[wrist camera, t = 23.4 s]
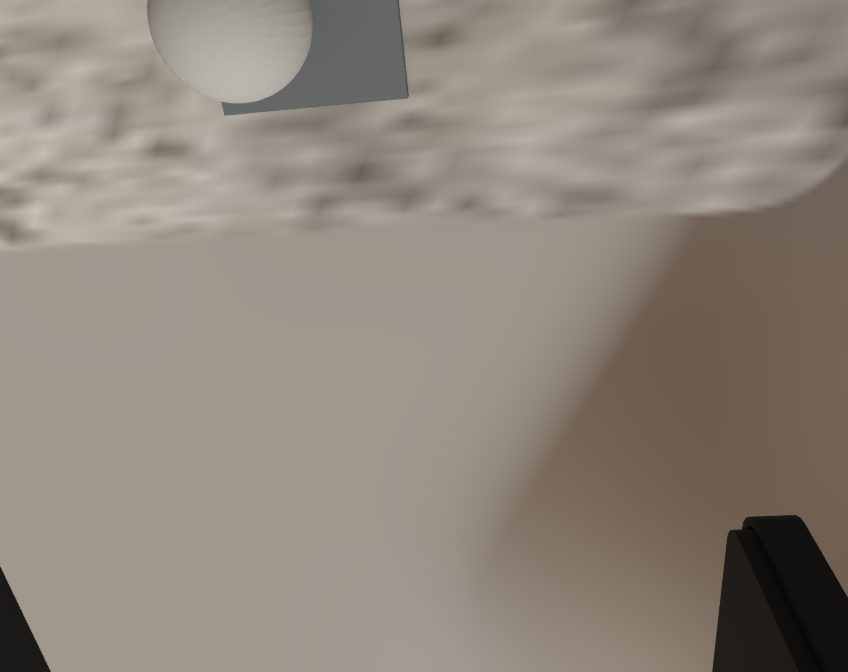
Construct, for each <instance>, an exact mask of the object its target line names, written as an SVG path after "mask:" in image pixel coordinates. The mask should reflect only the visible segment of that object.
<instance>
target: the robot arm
mask: <svg viewBox="0 0 848 672" xmlns="http://www.w3.org/2000/svg"><path fill="white" fill-rule="evenodd" d="M723 572H724V573H723V581H722V590H721V599H720V607H719V617H718V626H717V634H716V644H715V653H714V662H713V670H712V672H848V597H847V595H846V594H845V592H844V590H843V589H842V587H841V585H840V583H839V582H838V580H837V578H836V576H835V575H834V573H833V571H832V570H831V568H830V566H829V564H828V563H827V561H826V559H825V558H824V556H823V554H822V552H821V551H820V549H819V547H818V545H817V544H816V542H815V540H814V539H813V537H812V535H811V533H810V532H809V530H808V528H807V527H806V525H805V523H804V522H803V521H802V519H801V518H800V517H798V516H796V515H785V516H761V517H760V516H759V517H747V518H746V519H745V520H744V522H743V526H742V530H730V531H729V533H728V537H727V545H726V553H725V563H724V571H723ZM0 672H51V671H50V669H49V667H48V665H47V663H46V661H45V659H44V657H43V655H42V653H41V651H40V648H39V646H38V644H37V642H36V640H35V638H34V636H33V634H32V632H31V630H30V628H29V626H28V623H27V621H26V620H25V617H24V616H23V613H22V611H21V609H20V607H19V605H18V603H17V600H16V598H15V596H14V595H13V593H12V590H11V588H10V586H9V584H8V582H7V580H6V578H5V575H4V573H3V571H2V569H1V567H0Z"/></svg>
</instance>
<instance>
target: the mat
mask: <svg viewBox="0 0 848 672" xmlns="http://www.w3.org/2000/svg"><path fill="white" fill-rule="evenodd" d="M309 2H310V6H311V11H312V20H313V27H312V39H311V44H310V49H309V51H308V54H307V57H306V60H305V62H304V63H303V65H302V67H301V69H300V71H299V72H298V73H297V74H296V76H295V77H294V78H293V80H292V81H291V82H290V83H288V84H287V85H286V86H285V87H284V88H283V89H281V90H280V91H278V92H277V93H275V94H273V95H272V96H269V97H267V98H264V99H262V100H259V101H255V102H249V103H227V102H222V106H223V111H224V115H235V114H245V113H256V112H267V111H277V110H288V109H298V108H309V107H320V106H330V105H341V104H352V103H362V102H373V101H383V100H394V99H405V98H408V96H409V94H408V85H407V75H406V66H405V56H404V47H403V37H402V28H401V19H400V9H399V0H309Z"/></svg>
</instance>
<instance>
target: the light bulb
mask: <svg viewBox="0 0 848 672" xmlns="http://www.w3.org/2000/svg"><path fill="white" fill-rule="evenodd" d="M147 13H148V23H149V28H150V33H151V36H152V39H153V42H154V44H155V46H156V48H157V51H158V53H159V55H160V56H161V58H162V59H163V61H164V63H165V64H166V66H167V67H168V68H169V69H170V70H171V71H172V73H173V74H174V75H175V76H176V77H177V78H178V79H179V80H180V81H181V82H183V83H184V84H185V85H186V86H188V87H189V88H191V89H192V90H194V91H195V92H197V93H199V94H201V95H203V96H205V97H207V98H211V99H214V100H217V101H220V102H227V103H249V102H255V101H259V100H262V99H264V98H267V97H269V96H272V95H273V94H275V93H277V92H278V91H280V90H281V89H283V88H284V87H285V86H286V85H287V84H288V83H290V82H291V81H292V80H293V78H294V77H295V76H296V74H297V73H298V72H299V71H300V69H301V67H302V65H303V63H304V62H305V60H306V57H307V54H308V51H309V49H310V44H311V39H312V27H313V20H312V11H311V6H310V2H309V0H148V3H147Z"/></svg>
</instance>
